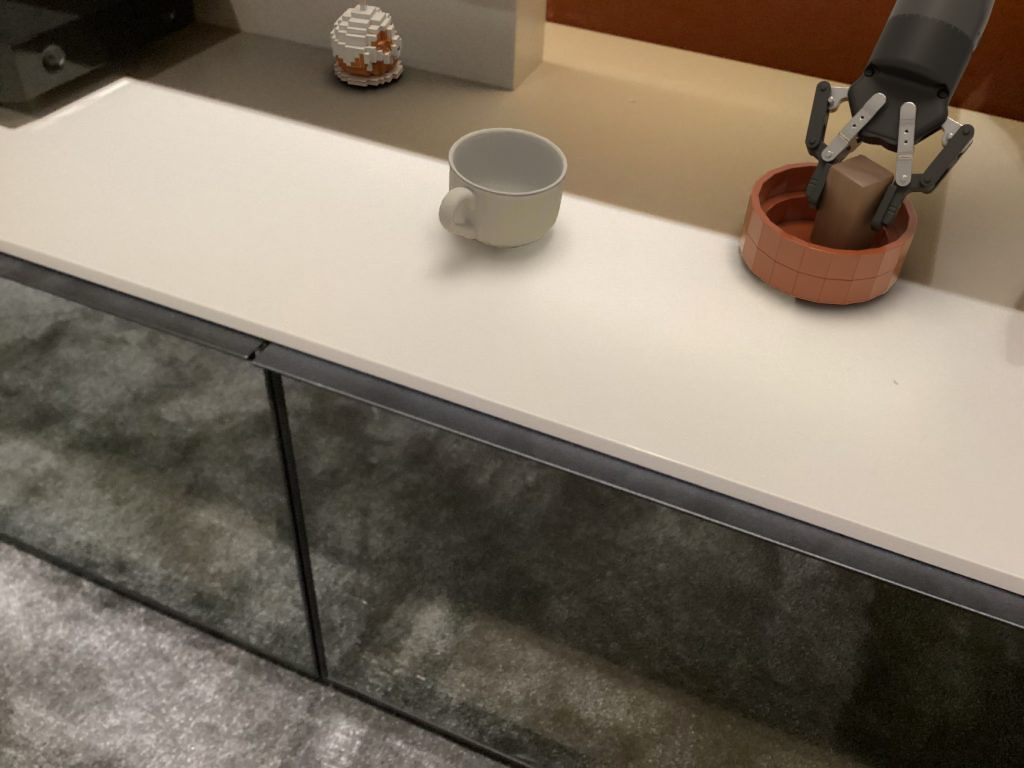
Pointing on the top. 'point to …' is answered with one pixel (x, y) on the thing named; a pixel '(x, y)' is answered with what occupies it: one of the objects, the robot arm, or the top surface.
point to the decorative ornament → (366, 46)
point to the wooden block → (850, 204)
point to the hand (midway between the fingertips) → (843, 217)
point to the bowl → (813, 268)
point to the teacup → (503, 187)
